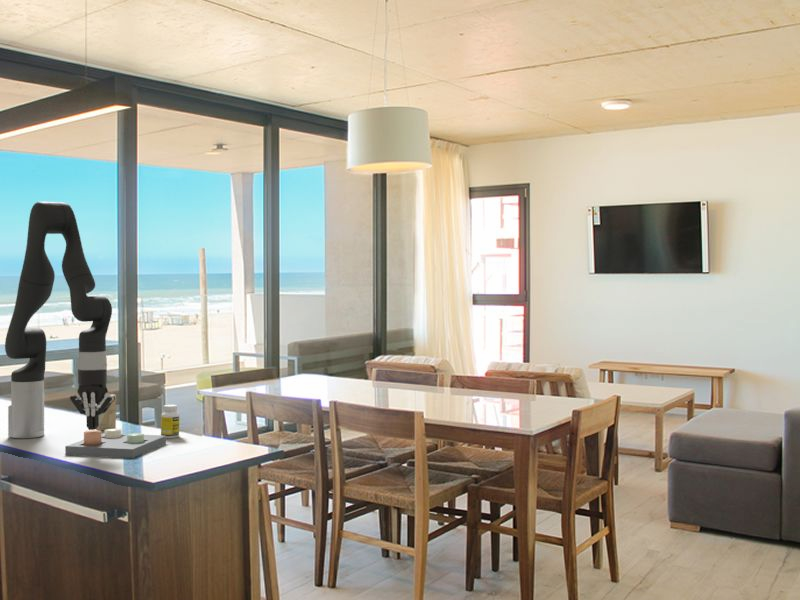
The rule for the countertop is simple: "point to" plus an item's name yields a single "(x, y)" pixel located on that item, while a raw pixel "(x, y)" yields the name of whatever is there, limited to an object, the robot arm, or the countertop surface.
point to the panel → (116, 447)
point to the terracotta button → (92, 438)
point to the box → (108, 417)
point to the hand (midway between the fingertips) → (92, 429)
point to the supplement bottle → (170, 422)
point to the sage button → (135, 438)
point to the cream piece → (113, 433)
